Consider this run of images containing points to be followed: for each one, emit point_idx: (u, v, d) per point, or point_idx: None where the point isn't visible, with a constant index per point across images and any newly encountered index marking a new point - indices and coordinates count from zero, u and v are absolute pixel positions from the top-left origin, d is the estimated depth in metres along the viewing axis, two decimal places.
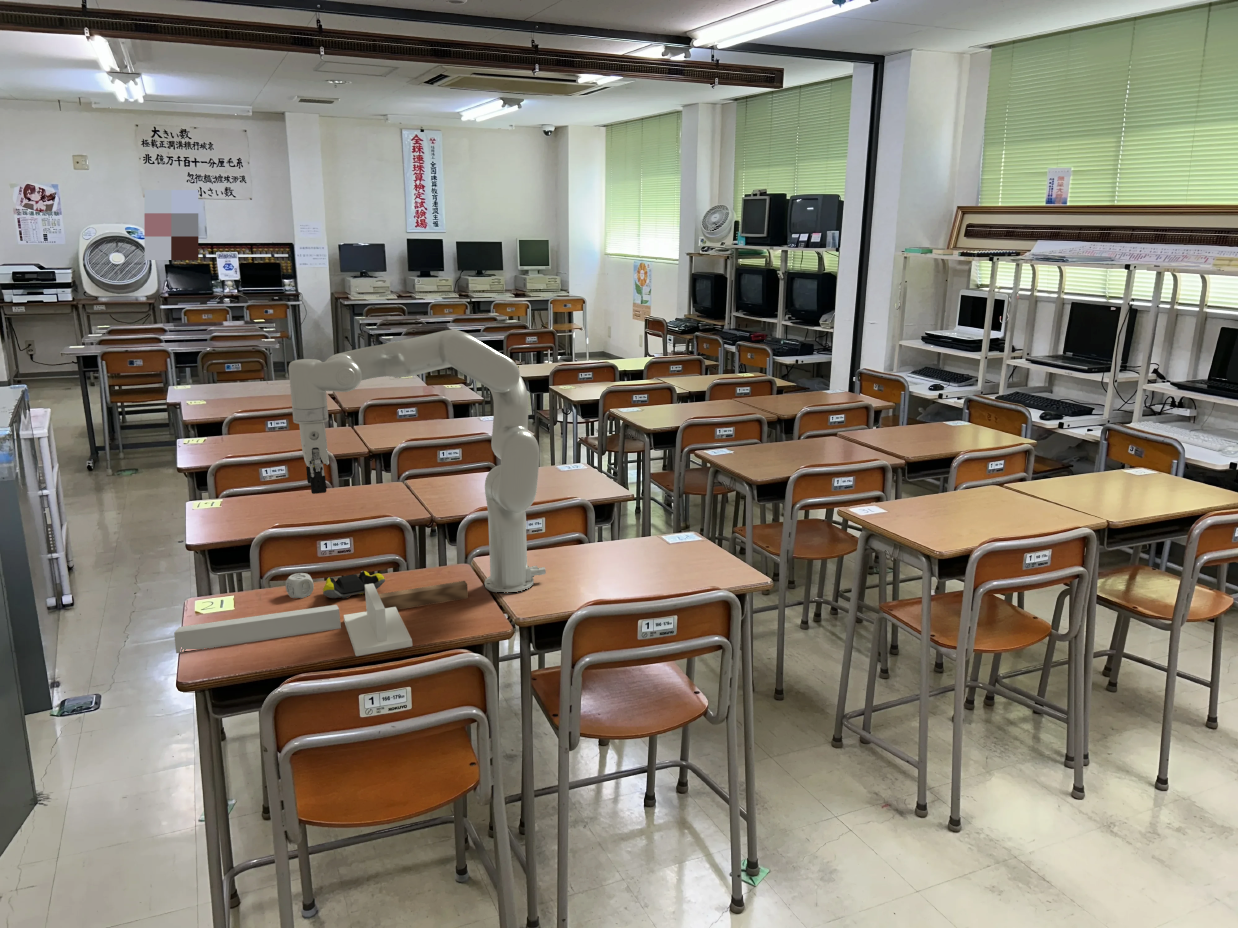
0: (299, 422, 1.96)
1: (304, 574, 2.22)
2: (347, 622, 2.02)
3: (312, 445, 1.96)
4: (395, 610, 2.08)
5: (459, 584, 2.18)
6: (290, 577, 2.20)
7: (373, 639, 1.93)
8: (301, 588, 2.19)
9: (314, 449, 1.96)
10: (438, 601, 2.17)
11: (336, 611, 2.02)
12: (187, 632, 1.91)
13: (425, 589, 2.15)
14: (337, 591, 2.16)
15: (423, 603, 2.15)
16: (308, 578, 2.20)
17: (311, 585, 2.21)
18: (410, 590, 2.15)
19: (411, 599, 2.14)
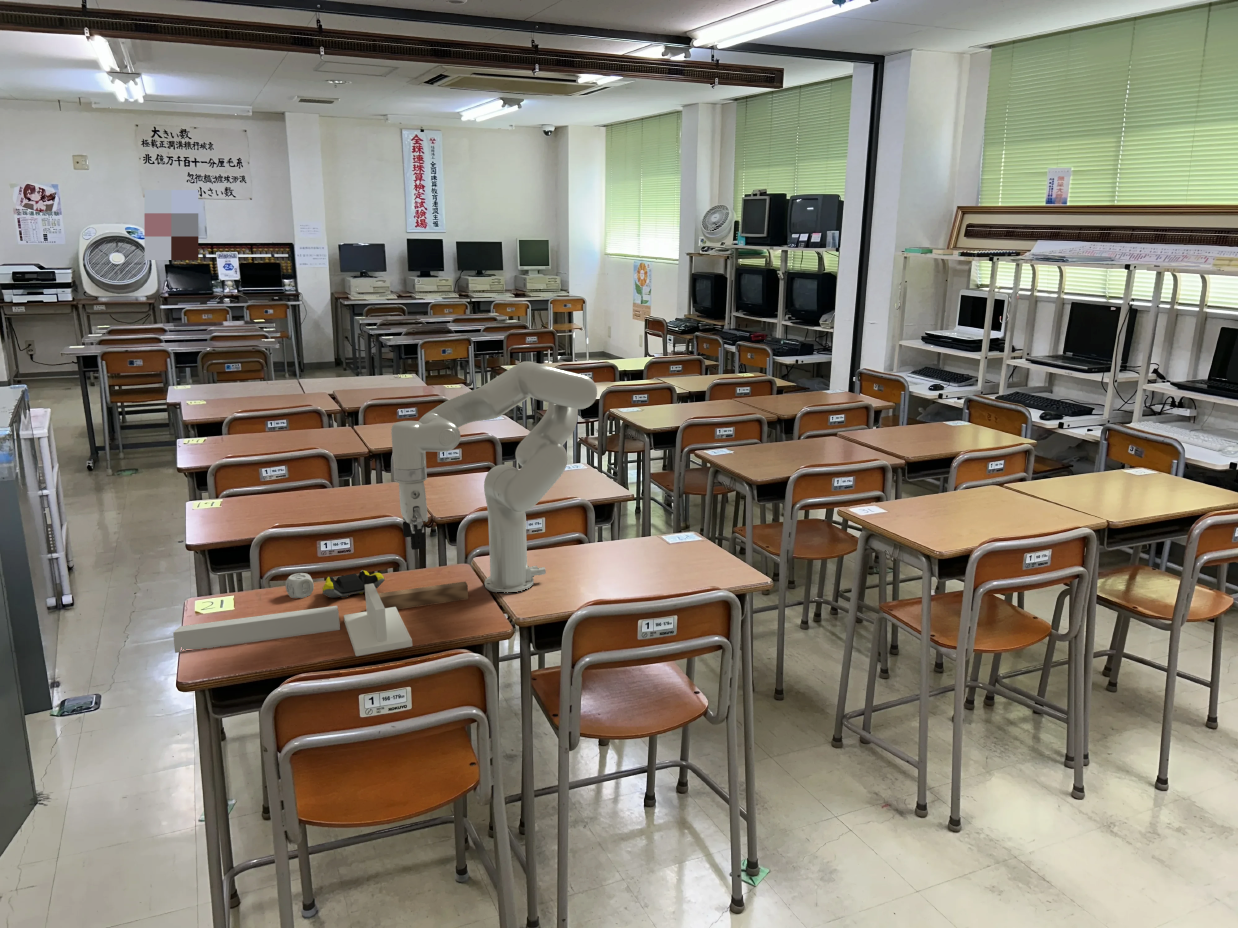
0: (401, 482, 2.05)
1: (304, 574, 2.22)
2: (347, 622, 2.02)
3: (414, 504, 2.05)
4: (395, 610, 2.08)
5: (459, 585, 2.18)
6: (290, 577, 2.20)
7: (373, 639, 1.93)
8: (301, 588, 2.19)
9: (415, 507, 2.05)
10: (438, 601, 2.16)
11: (335, 612, 2.01)
12: (186, 632, 1.91)
13: (424, 590, 2.15)
14: (336, 590, 2.16)
15: (423, 603, 2.15)
16: (308, 578, 2.20)
17: (311, 585, 2.21)
18: (410, 590, 2.15)
19: (410, 599, 2.14)
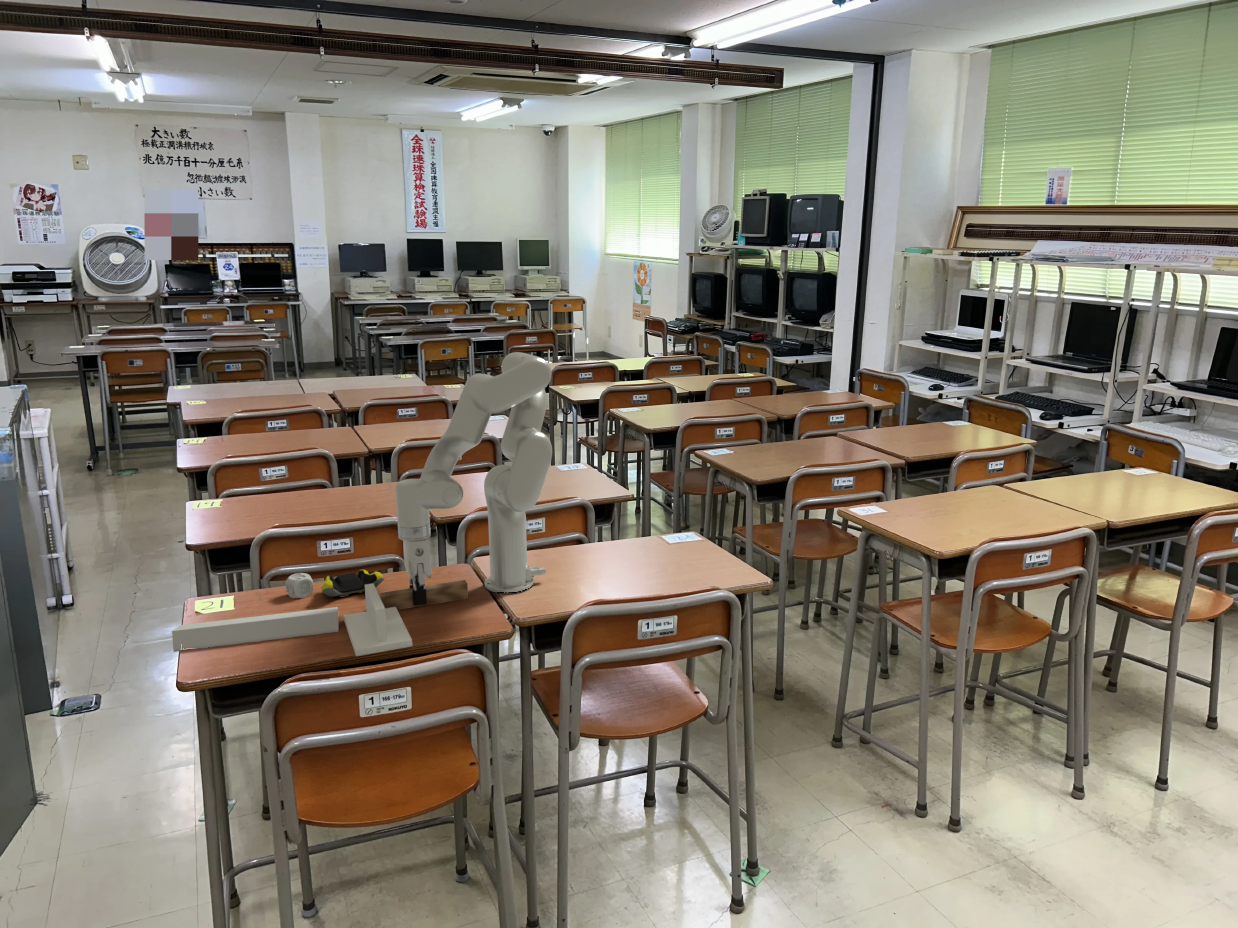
0: (405, 539, 2.08)
1: (304, 574, 2.22)
2: (347, 622, 2.02)
3: (418, 561, 2.08)
4: (395, 610, 2.08)
5: (459, 584, 2.18)
6: (290, 577, 2.20)
7: (373, 639, 1.93)
8: (301, 588, 2.19)
9: (419, 568, 2.09)
10: (438, 600, 2.16)
11: (334, 613, 2.00)
12: (185, 631, 1.91)
13: None
14: (336, 589, 2.17)
15: None
16: (308, 578, 2.20)
17: (311, 585, 2.21)
18: (410, 589, 2.15)
19: (411, 599, 2.14)
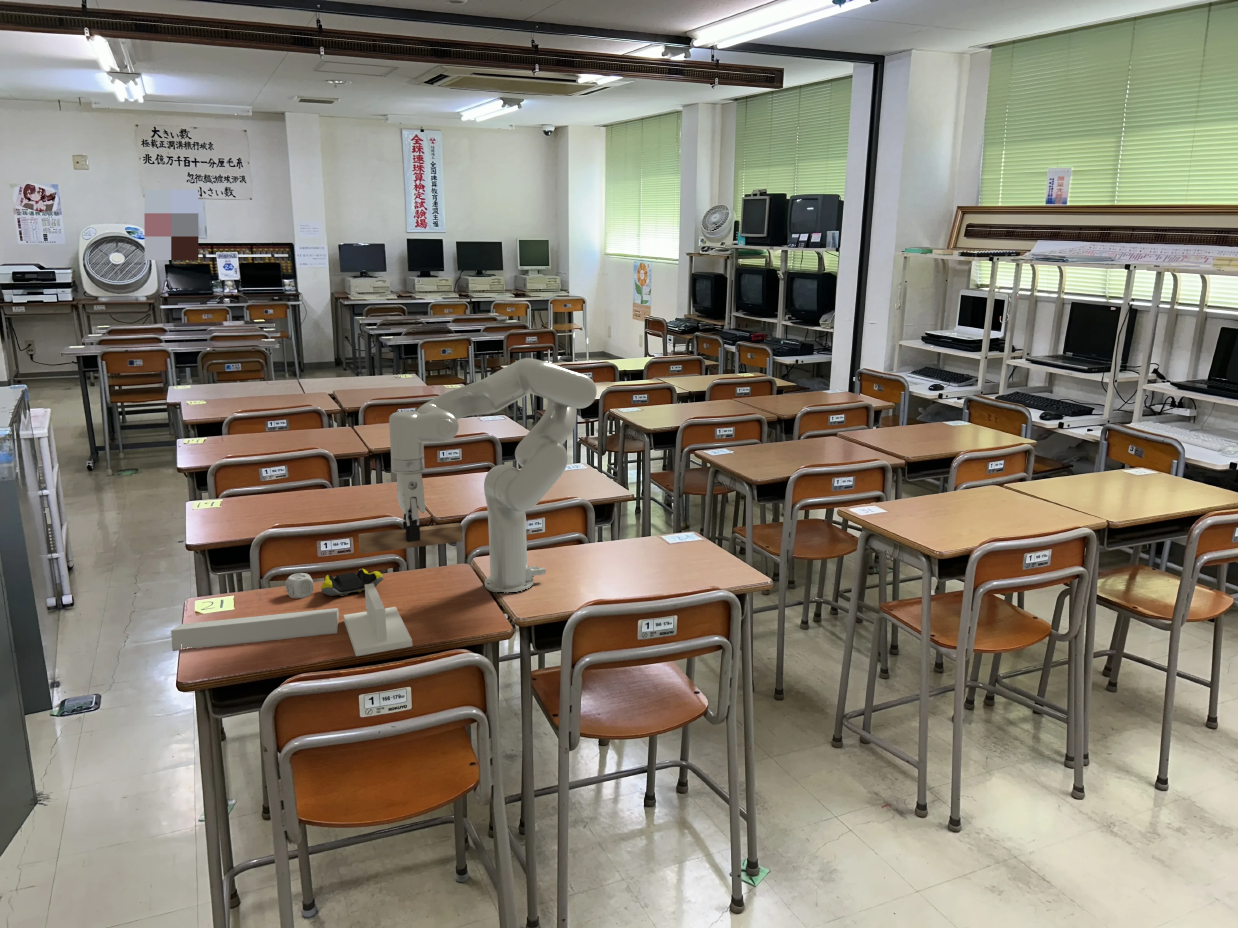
0: (398, 472, 2.03)
1: (304, 574, 2.22)
2: (347, 622, 2.02)
3: (411, 494, 2.03)
4: (395, 610, 2.08)
5: (453, 526, 2.13)
6: (290, 577, 2.20)
7: (373, 639, 1.93)
8: (301, 588, 2.19)
9: (412, 502, 2.04)
10: (432, 542, 2.12)
11: (332, 615, 2.00)
12: (184, 630, 1.92)
13: None
14: (335, 589, 2.17)
15: (416, 543, 2.10)
16: (308, 578, 2.20)
17: (311, 585, 2.21)
18: (403, 530, 2.10)
19: (404, 539, 2.09)
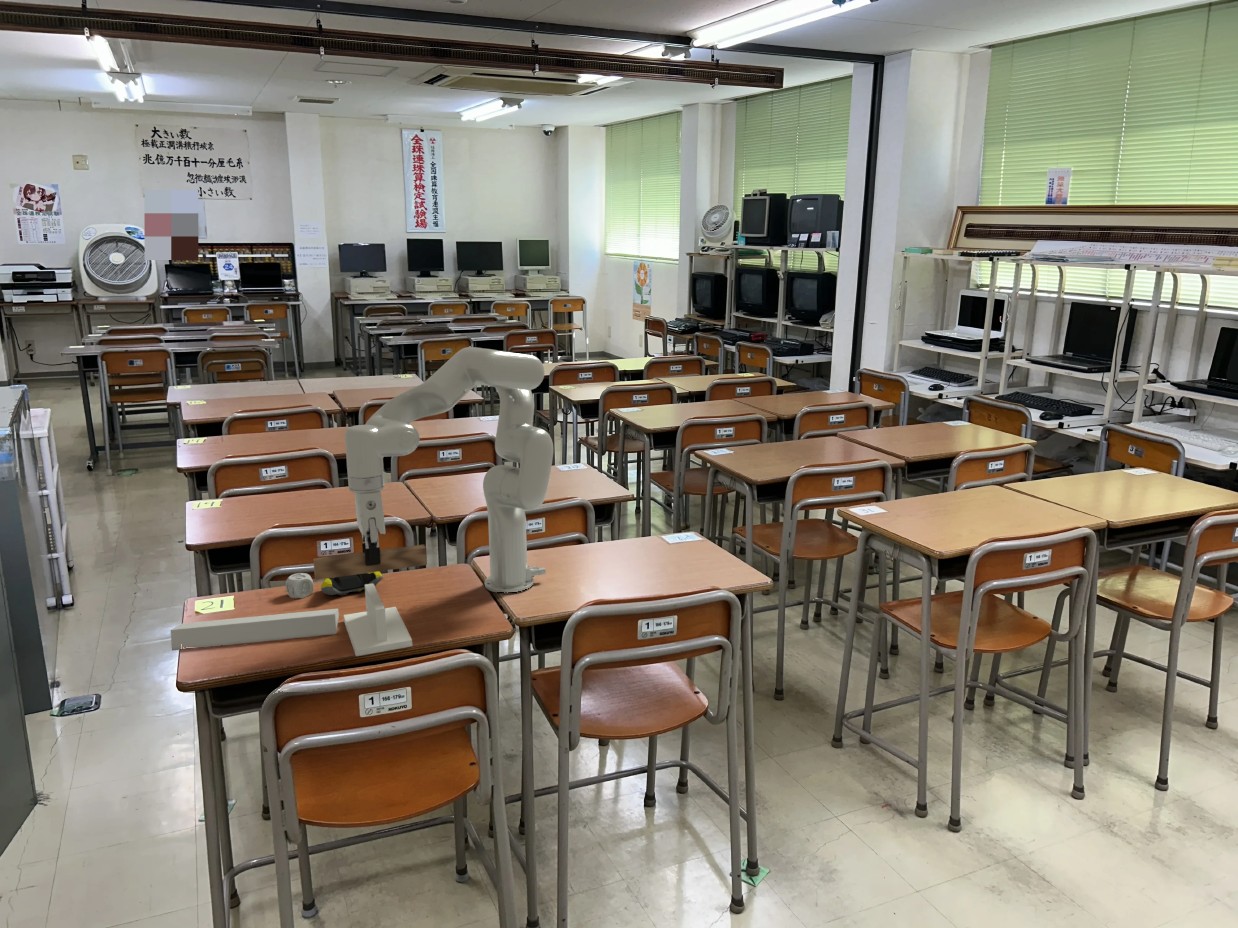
0: (355, 491, 1.88)
1: (304, 574, 2.22)
2: (347, 622, 2.02)
3: (369, 515, 1.88)
4: (395, 610, 2.08)
5: (417, 548, 1.98)
6: (290, 577, 2.20)
7: (373, 639, 1.93)
8: (301, 588, 2.19)
9: (371, 523, 1.89)
10: (393, 566, 1.97)
11: (332, 615, 1.99)
12: (183, 630, 1.92)
13: None
14: (335, 588, 2.18)
15: (376, 568, 1.95)
16: (308, 578, 2.20)
17: (311, 585, 2.21)
18: (362, 553, 1.95)
19: (363, 563, 1.94)
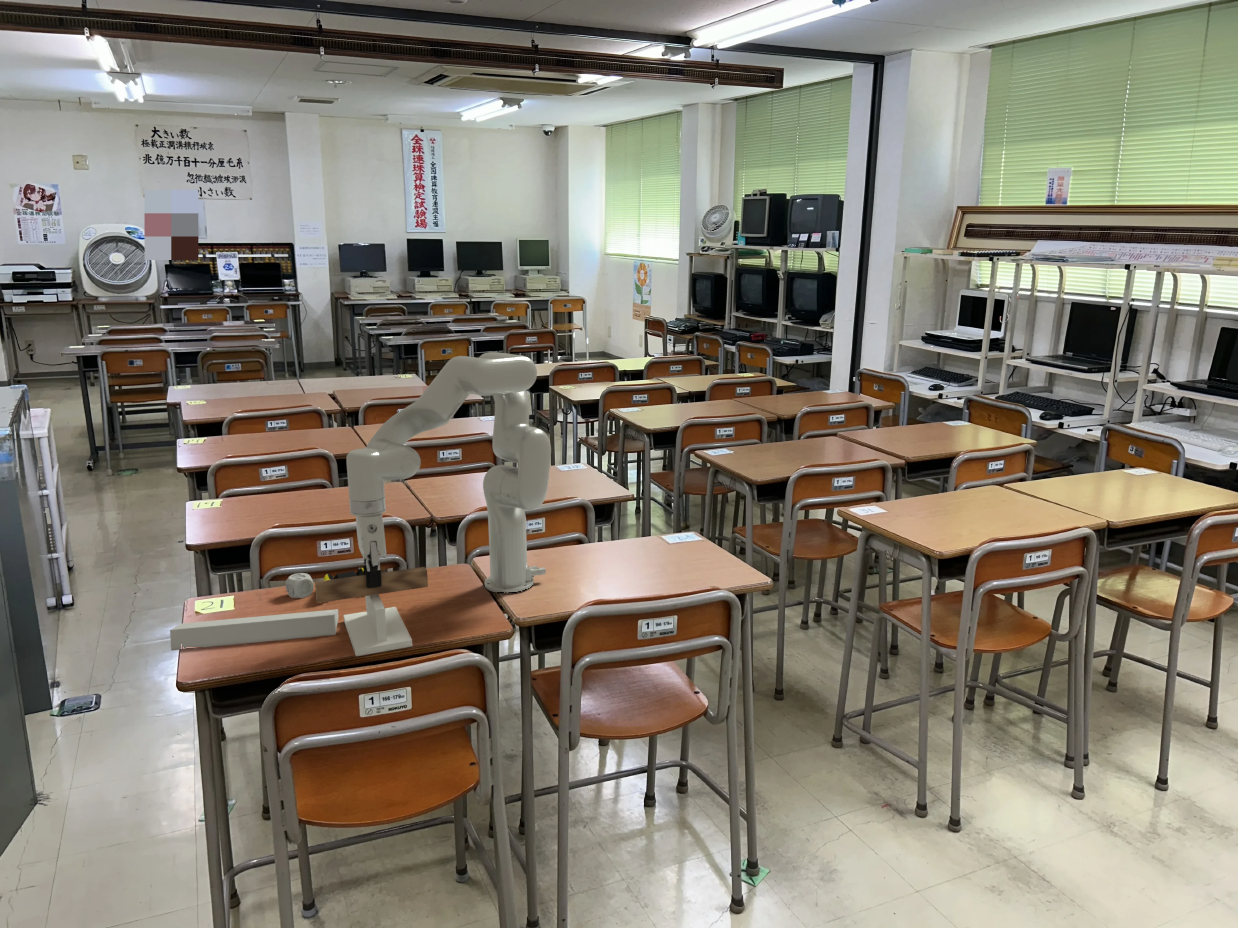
0: (357, 514, 1.89)
1: (304, 574, 2.22)
2: (347, 622, 2.02)
3: (370, 538, 1.89)
4: (395, 610, 2.08)
5: (418, 571, 1.99)
6: (290, 577, 2.20)
7: (373, 639, 1.93)
8: (301, 588, 2.19)
9: (372, 546, 1.90)
10: (394, 588, 1.98)
11: (331, 616, 1.99)
12: (182, 630, 1.92)
13: None
14: None
15: (378, 590, 1.96)
16: (308, 578, 2.20)
17: (311, 585, 2.21)
18: (363, 576, 1.96)
19: (364, 586, 1.95)
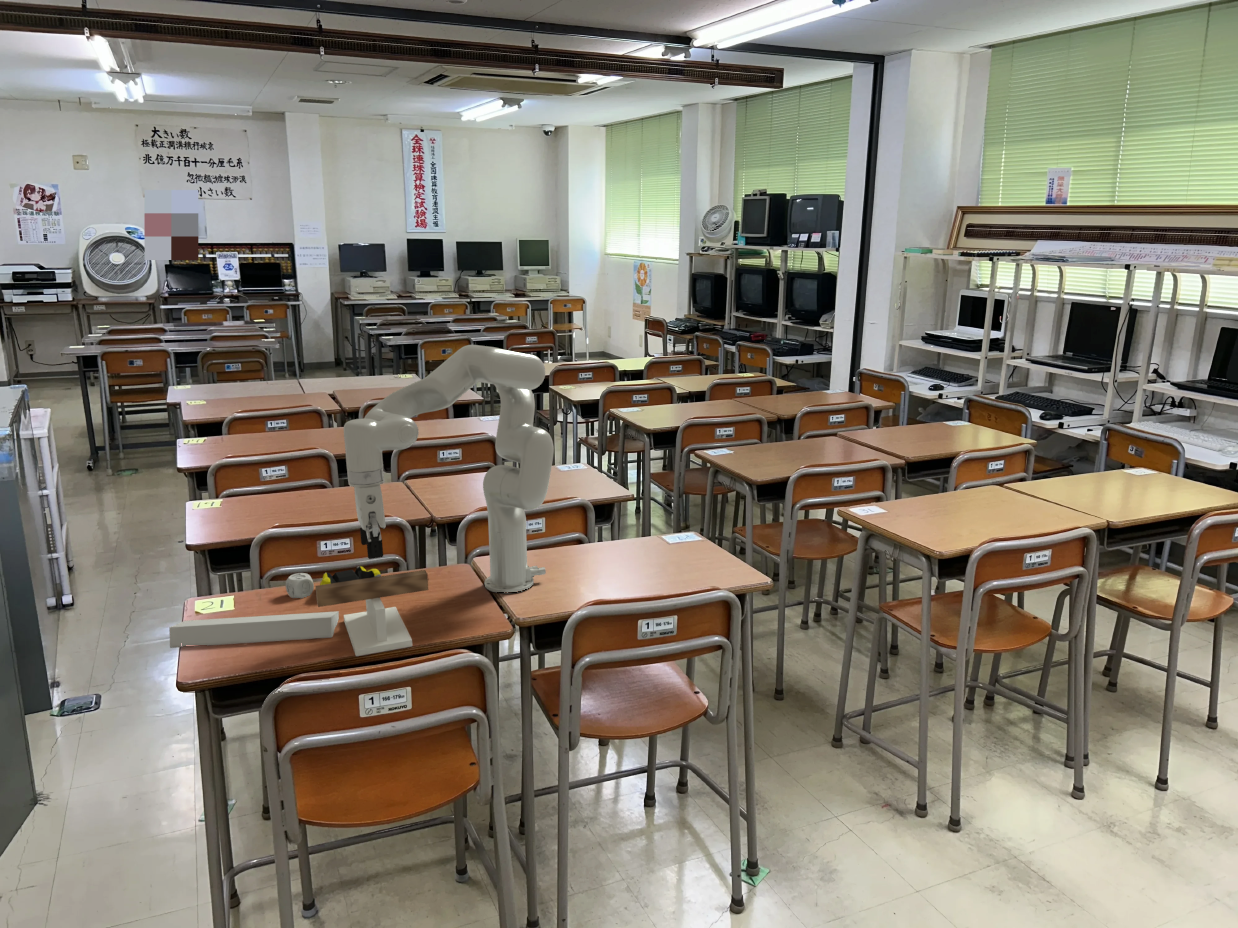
0: (355, 485, 1.88)
1: (304, 574, 2.22)
2: (347, 622, 2.02)
3: (369, 509, 1.88)
4: (395, 610, 2.08)
5: (418, 574, 2.00)
6: (290, 577, 2.20)
7: (373, 639, 1.93)
8: (301, 588, 2.19)
9: (371, 513, 1.88)
10: (395, 592, 1.98)
11: (328, 618, 1.97)
12: (181, 628, 1.93)
13: (380, 579, 1.96)
14: None
15: (378, 594, 1.96)
16: (308, 578, 2.20)
17: (311, 585, 2.21)
18: (364, 580, 1.96)
19: (365, 590, 1.95)
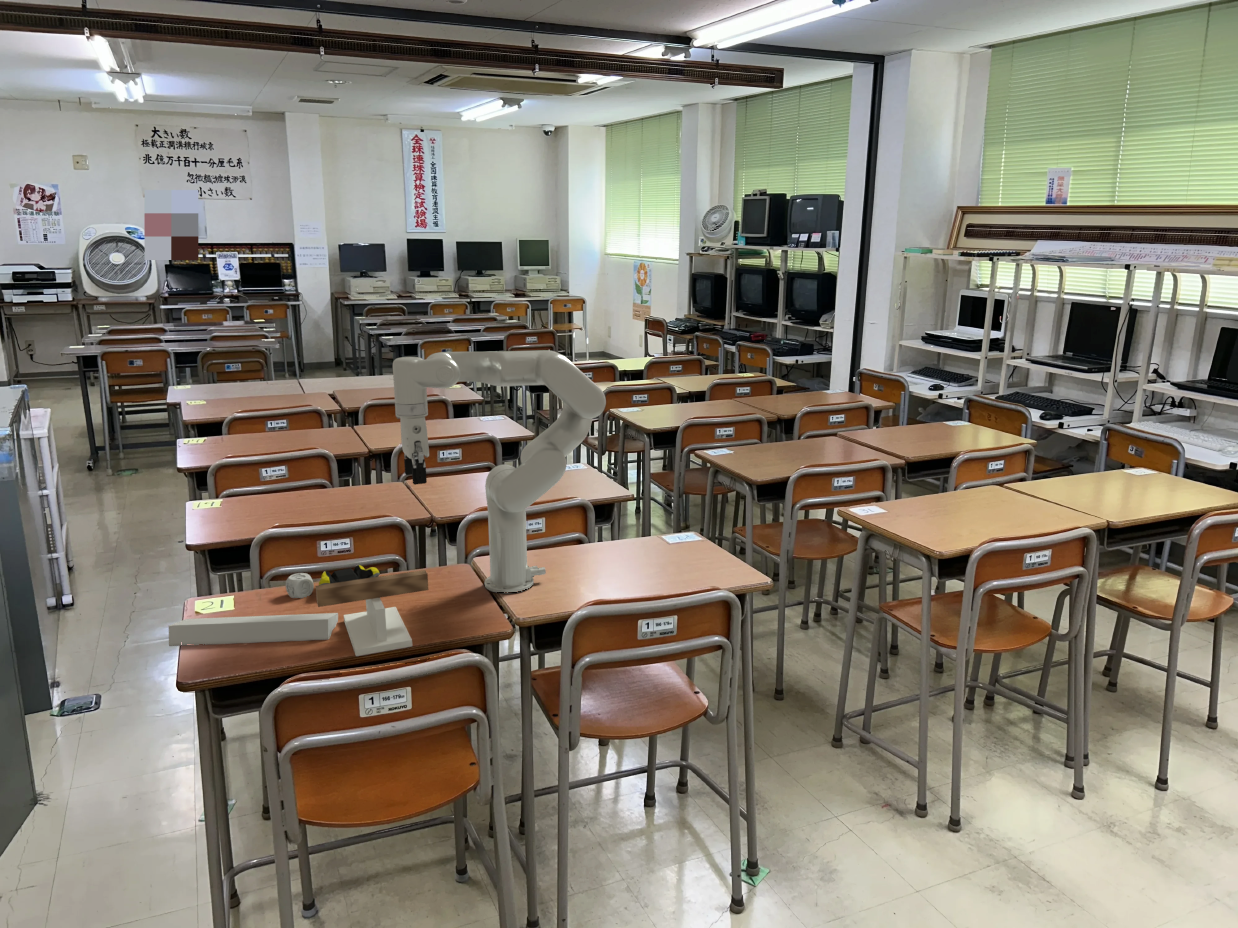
0: (402, 416, 2.07)
1: (304, 574, 2.22)
2: (347, 622, 2.02)
3: (415, 438, 2.07)
4: (395, 610, 2.08)
5: (418, 574, 2.00)
6: (290, 577, 2.20)
7: (373, 639, 1.93)
8: (301, 588, 2.19)
9: (416, 442, 2.07)
10: (395, 592, 1.98)
11: (325, 620, 1.96)
12: (180, 626, 1.94)
13: (380, 579, 1.96)
14: None
15: (378, 594, 1.96)
16: (308, 578, 2.20)
17: (311, 585, 2.21)
18: (364, 580, 1.96)
19: (365, 590, 1.95)
